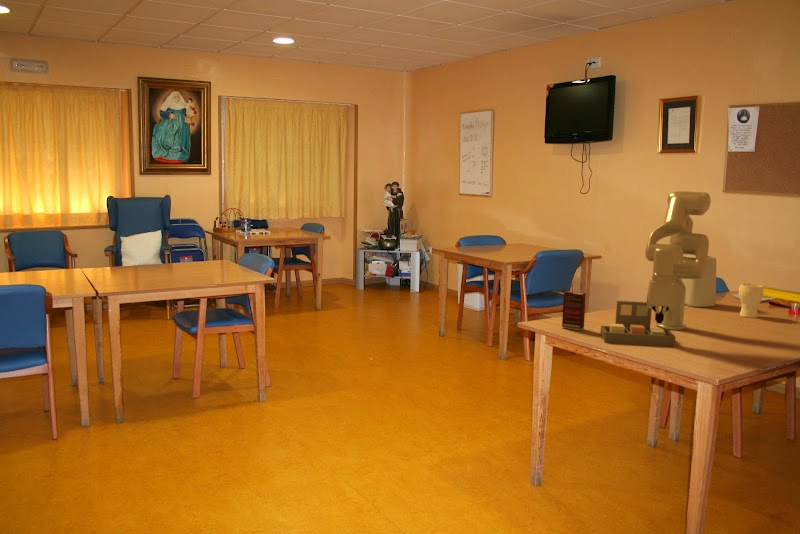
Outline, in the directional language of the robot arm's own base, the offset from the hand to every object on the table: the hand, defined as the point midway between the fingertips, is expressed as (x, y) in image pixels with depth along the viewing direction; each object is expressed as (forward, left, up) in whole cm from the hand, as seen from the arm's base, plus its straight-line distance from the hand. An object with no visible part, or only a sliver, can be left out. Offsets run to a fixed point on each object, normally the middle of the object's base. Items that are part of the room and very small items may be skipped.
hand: (659, 322), depth 282 cm
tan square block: (+1, -16, -5) cm, 17 cm away
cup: (-61, +55, -8) cm, 82 cm away
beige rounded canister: (-84, +37, -8) cm, 92 cm away
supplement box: (-14, -32, -8) cm, 36 cm away
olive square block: (+1, 0, -7) cm, 7 cm away
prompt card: (-9, -8, -8) cm, 15 cm away
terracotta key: (+1, -8, -5) cm, 10 cm away
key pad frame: (+1, -8, -8) cm, 12 cm away
